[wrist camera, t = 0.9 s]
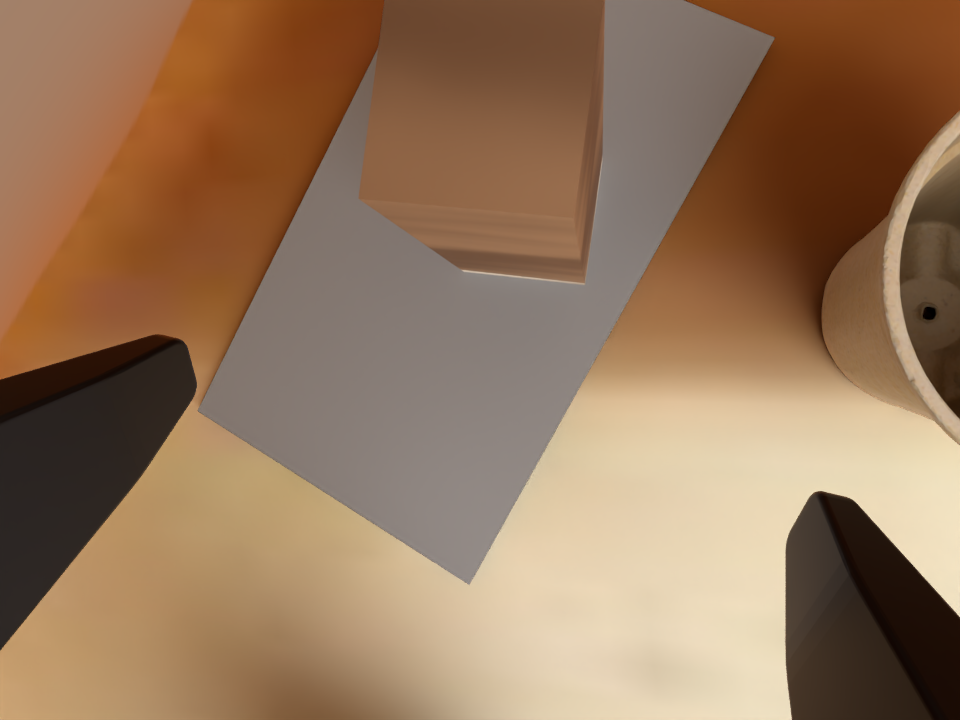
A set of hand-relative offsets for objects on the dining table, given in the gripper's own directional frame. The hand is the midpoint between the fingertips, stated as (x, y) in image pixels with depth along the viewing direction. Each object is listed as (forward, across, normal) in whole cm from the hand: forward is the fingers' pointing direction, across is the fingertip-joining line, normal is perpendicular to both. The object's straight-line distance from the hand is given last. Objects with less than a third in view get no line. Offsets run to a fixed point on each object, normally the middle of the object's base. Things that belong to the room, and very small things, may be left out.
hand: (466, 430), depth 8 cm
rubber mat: (+14, +4, +4) cm, 15 cm away
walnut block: (+15, +2, +3) cm, 15 cm away
